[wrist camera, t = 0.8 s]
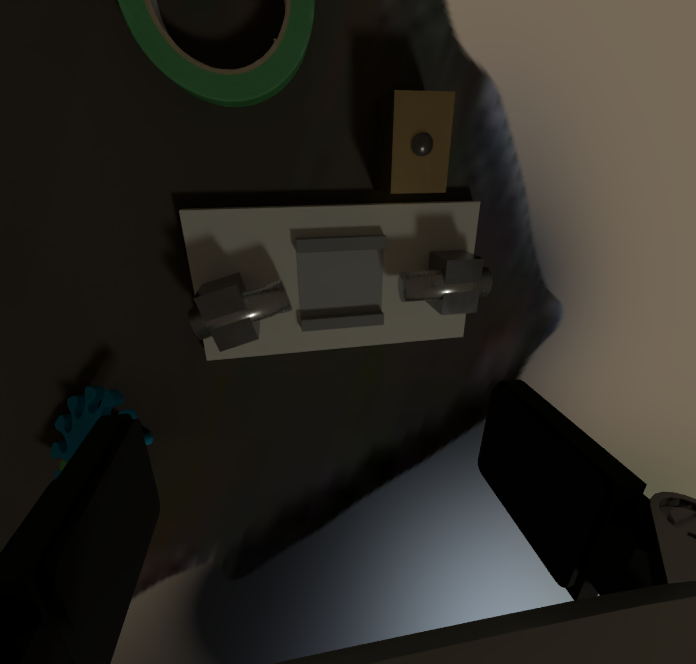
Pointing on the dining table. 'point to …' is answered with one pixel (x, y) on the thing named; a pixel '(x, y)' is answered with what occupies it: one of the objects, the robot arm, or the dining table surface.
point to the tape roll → (224, 83)
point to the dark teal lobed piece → (86, 420)
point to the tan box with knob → (413, 141)
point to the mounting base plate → (330, 268)
